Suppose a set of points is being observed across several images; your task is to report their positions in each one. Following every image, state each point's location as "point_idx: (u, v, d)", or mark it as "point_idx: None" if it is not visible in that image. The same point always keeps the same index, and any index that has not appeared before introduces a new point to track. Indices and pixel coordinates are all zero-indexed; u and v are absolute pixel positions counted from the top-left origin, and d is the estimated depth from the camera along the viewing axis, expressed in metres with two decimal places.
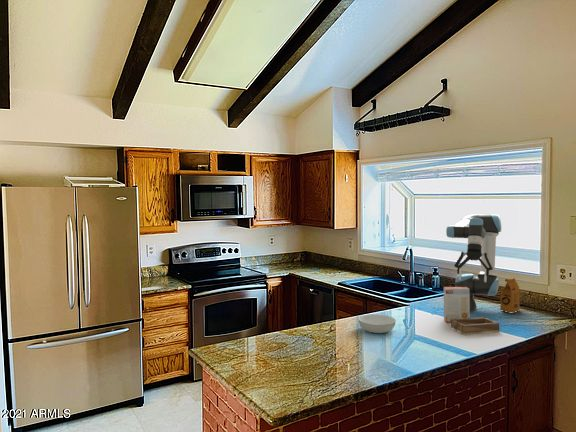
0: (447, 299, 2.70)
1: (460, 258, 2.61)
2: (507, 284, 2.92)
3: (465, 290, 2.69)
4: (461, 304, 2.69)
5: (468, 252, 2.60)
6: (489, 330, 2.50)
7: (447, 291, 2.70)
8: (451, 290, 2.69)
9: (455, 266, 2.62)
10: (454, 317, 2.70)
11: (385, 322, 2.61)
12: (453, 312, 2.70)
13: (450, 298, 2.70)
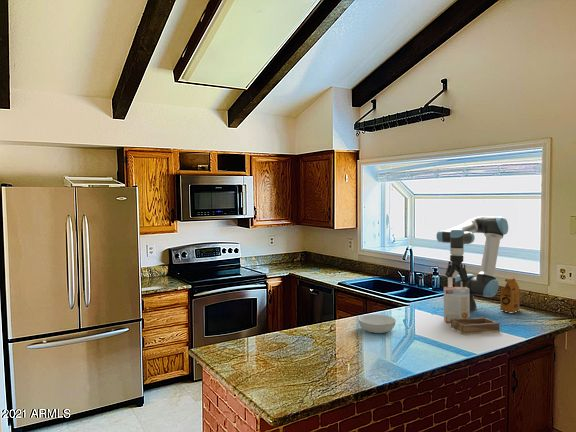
0: (447, 299, 2.70)
1: (448, 268, 2.78)
2: (507, 284, 2.92)
3: None
4: (461, 304, 2.69)
5: (452, 262, 2.74)
6: (489, 330, 2.50)
7: (447, 291, 2.70)
8: (451, 290, 2.69)
9: (446, 275, 2.80)
10: (454, 317, 2.70)
11: (385, 322, 2.61)
12: (453, 312, 2.70)
13: (450, 298, 2.70)
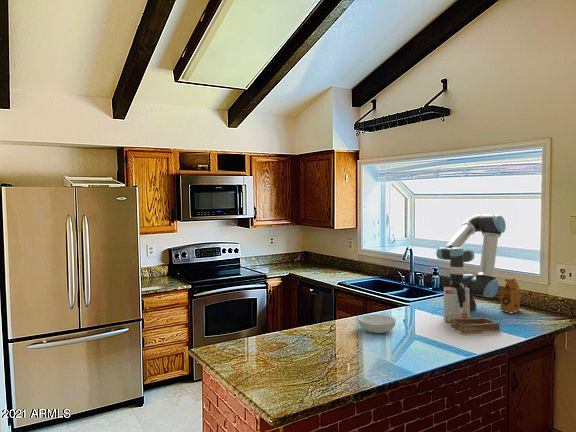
0: (447, 299, 2.70)
1: None
2: (507, 284, 2.92)
3: (465, 290, 2.69)
4: None
5: (452, 280, 2.74)
6: (489, 330, 2.50)
7: (447, 291, 2.70)
8: (451, 290, 2.69)
9: None
10: (454, 317, 2.70)
11: (385, 322, 2.61)
12: (453, 312, 2.70)
13: (450, 298, 2.70)
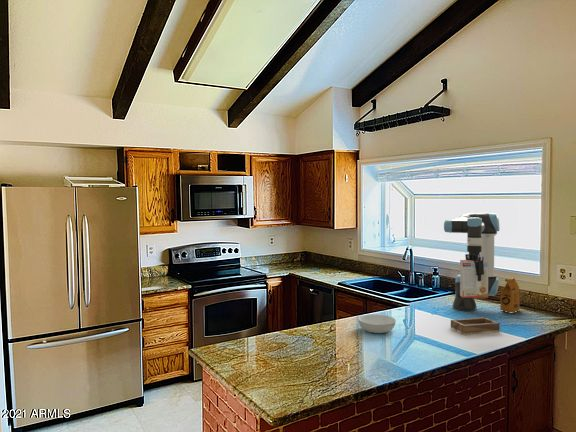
0: (464, 272, 2.52)
1: None
2: (507, 284, 2.92)
3: (483, 263, 2.51)
4: None
5: (469, 253, 2.57)
6: (489, 330, 2.50)
7: (464, 264, 2.52)
8: (468, 263, 2.52)
9: None
10: (471, 292, 2.52)
11: (385, 322, 2.61)
12: (471, 287, 2.52)
13: (467, 271, 2.52)
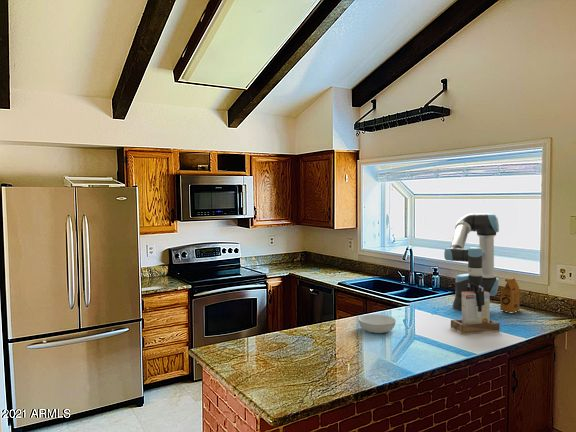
0: (467, 305, 2.51)
1: None
2: (507, 284, 2.92)
3: (485, 294, 2.52)
4: None
5: (469, 283, 2.57)
6: (489, 330, 2.50)
7: (467, 296, 2.51)
8: (471, 295, 2.51)
9: None
10: None
11: (385, 322, 2.61)
12: (474, 319, 2.52)
13: (470, 303, 2.51)
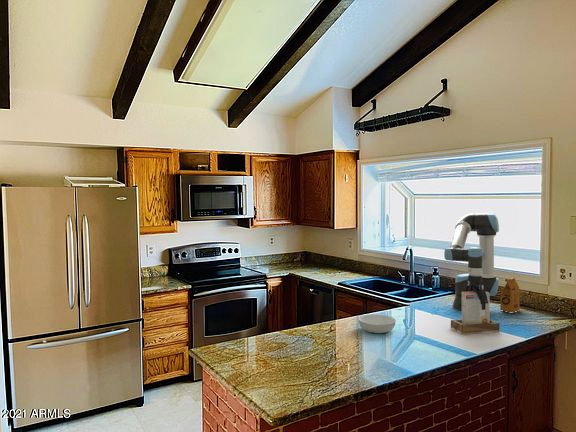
0: (467, 305, 2.51)
1: (465, 288, 2.61)
2: (507, 284, 2.92)
3: None
4: None
5: (470, 283, 2.56)
6: (489, 330, 2.50)
7: (467, 296, 2.51)
8: (471, 295, 2.51)
9: None
10: None
11: (385, 322, 2.61)
12: (474, 319, 2.52)
13: (470, 303, 2.51)
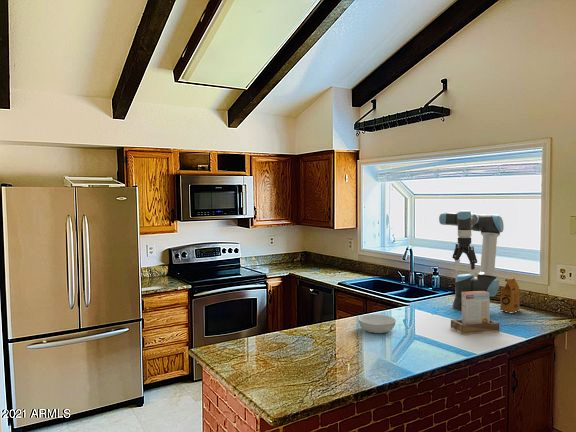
0: (467, 305, 2.51)
1: (455, 250, 2.72)
2: (507, 284, 2.92)
3: (485, 294, 2.52)
4: (481, 310, 2.52)
5: (459, 245, 2.67)
6: (489, 330, 2.50)
7: (467, 296, 2.51)
8: (471, 295, 2.51)
9: None
10: None
11: (385, 322, 2.61)
12: (474, 319, 2.52)
13: (470, 303, 2.51)
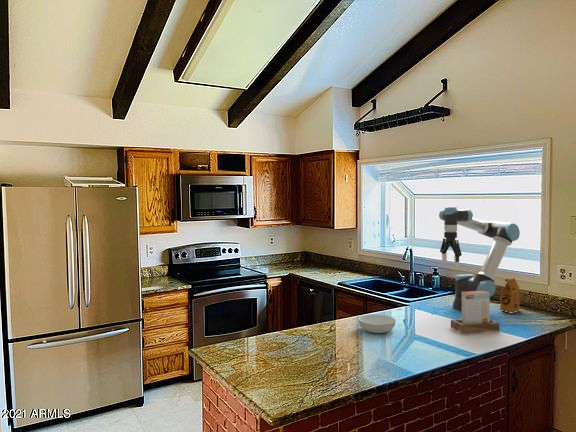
0: (467, 305, 2.51)
1: (442, 244, 2.88)
2: (507, 284, 2.92)
3: (485, 294, 2.52)
4: (481, 310, 2.52)
5: (446, 239, 2.83)
6: (489, 330, 2.50)
7: (467, 296, 2.51)
8: (471, 295, 2.51)
9: None
10: None
11: (385, 322, 2.61)
12: (474, 319, 2.52)
13: (470, 303, 2.51)
